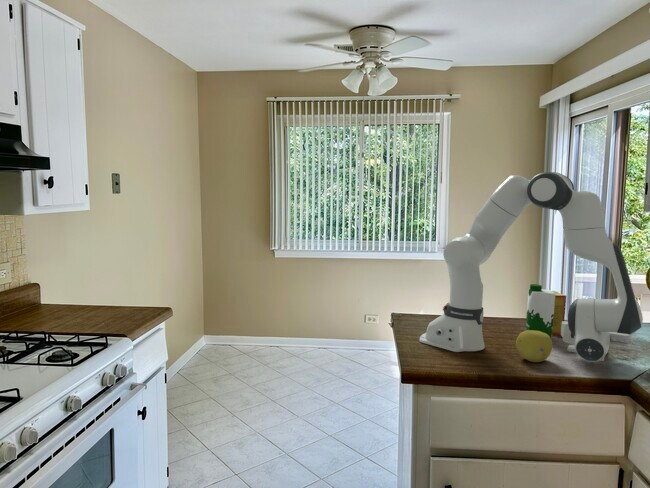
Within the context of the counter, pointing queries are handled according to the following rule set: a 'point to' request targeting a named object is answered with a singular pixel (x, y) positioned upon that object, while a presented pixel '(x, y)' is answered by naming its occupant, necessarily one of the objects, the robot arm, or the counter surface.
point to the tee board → (572, 349)
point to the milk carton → (540, 309)
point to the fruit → (534, 345)
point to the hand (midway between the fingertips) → (596, 327)
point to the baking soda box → (558, 312)
